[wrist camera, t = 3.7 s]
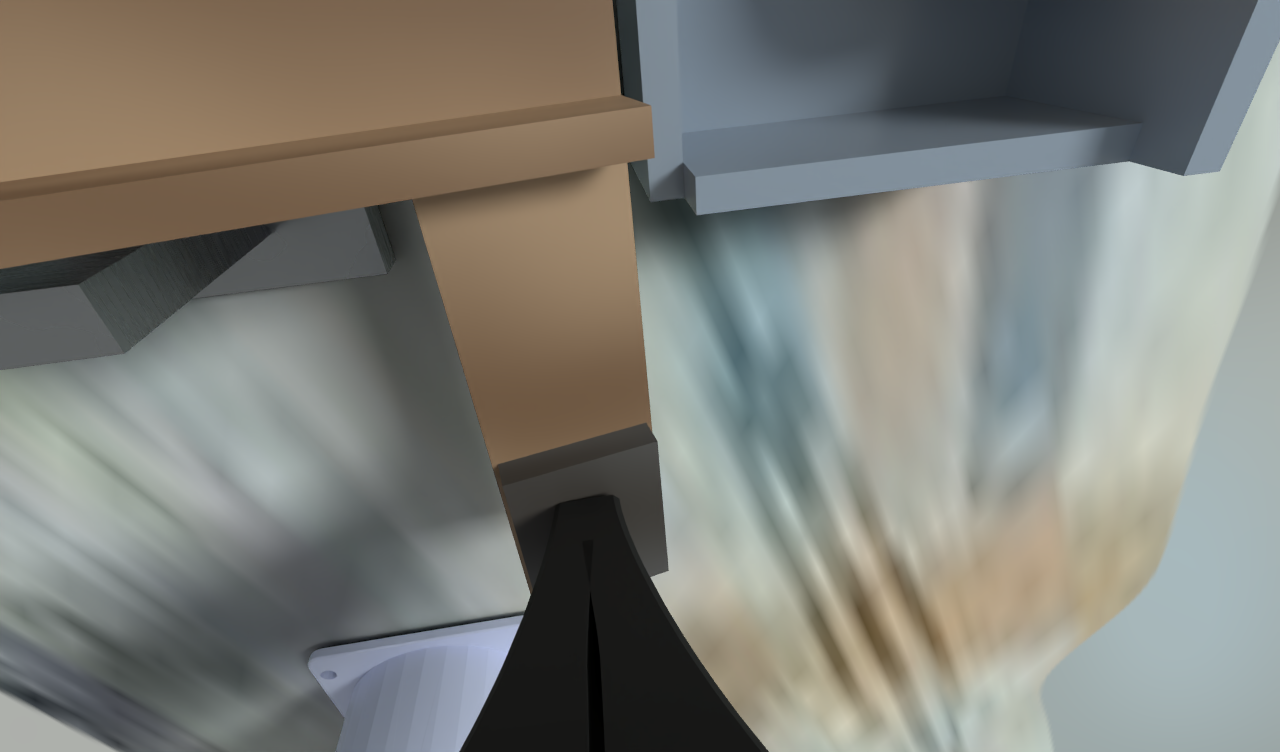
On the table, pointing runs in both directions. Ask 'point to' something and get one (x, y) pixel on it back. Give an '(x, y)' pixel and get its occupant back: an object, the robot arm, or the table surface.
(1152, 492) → the table surface
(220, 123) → the lever
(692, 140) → the blue-grey open box
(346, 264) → the lever stand
